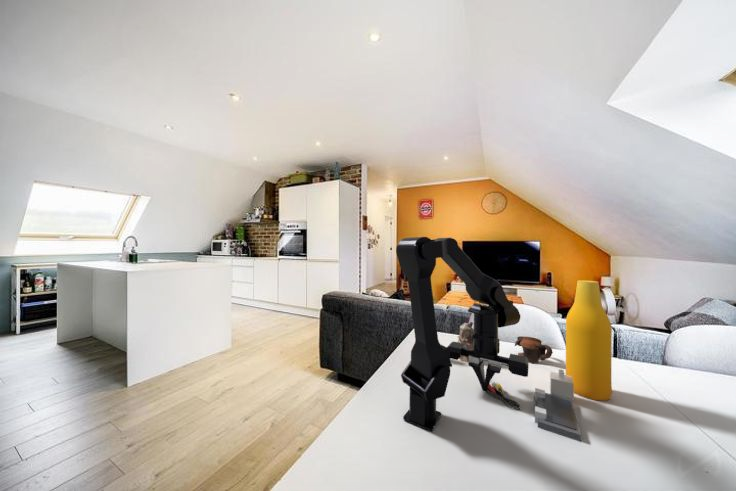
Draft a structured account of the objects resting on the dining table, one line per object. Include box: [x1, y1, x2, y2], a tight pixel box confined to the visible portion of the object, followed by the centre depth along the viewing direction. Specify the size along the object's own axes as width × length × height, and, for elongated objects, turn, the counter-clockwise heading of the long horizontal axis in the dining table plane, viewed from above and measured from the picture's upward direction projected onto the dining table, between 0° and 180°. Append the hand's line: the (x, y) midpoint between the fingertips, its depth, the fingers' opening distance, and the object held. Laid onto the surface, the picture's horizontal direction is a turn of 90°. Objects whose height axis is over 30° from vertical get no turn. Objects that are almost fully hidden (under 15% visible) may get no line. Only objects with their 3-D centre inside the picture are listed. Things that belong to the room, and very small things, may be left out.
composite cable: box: [485, 379, 521, 411], centre depth 64 cm, size 10×5×2 cm, turn 7°
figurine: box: [457, 321, 474, 363], centre depth 87 cm, size 7×7×12 cm
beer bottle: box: [565, 279, 613, 402], centre depth 67 cm, size 9×9×29 cm
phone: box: [534, 387, 582, 442], centre depth 57 cm, size 14×8×2 cm, turn 147°
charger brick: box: [549, 368, 575, 405], centre depth 64 cm, size 4×4×7 cm
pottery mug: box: [514, 336, 554, 364], centre depth 87 cm, size 12×10×8 cm
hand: (484, 390), depth 65 cm, fingers closed
